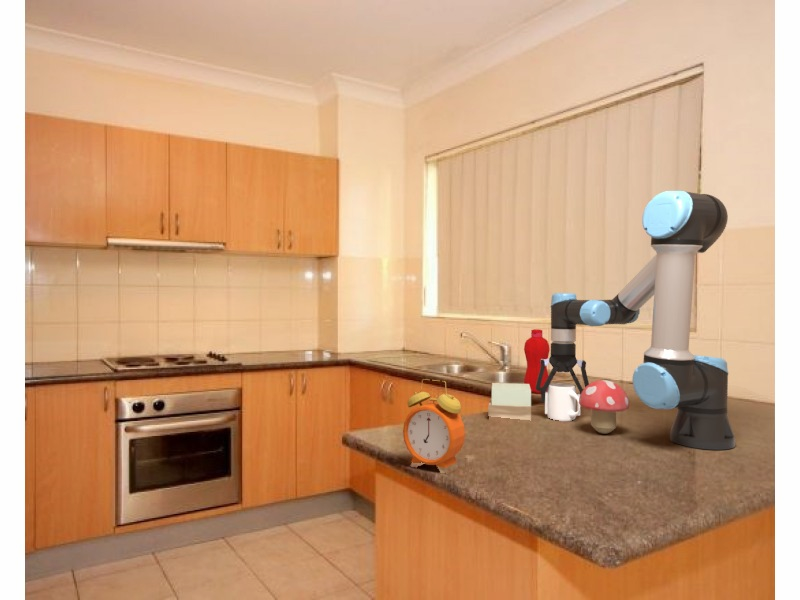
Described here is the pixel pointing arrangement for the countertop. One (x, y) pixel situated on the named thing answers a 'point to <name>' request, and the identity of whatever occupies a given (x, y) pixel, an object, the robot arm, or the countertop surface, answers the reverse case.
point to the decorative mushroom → (604, 404)
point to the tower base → (509, 411)
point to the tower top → (511, 394)
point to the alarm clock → (434, 429)
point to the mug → (562, 401)
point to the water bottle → (535, 359)
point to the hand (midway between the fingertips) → (562, 413)
